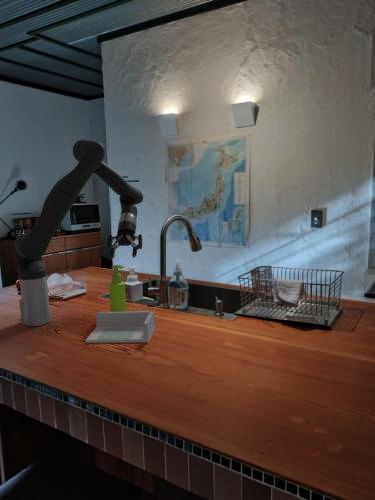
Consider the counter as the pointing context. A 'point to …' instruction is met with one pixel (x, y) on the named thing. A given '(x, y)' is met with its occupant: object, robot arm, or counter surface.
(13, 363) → the counter surface
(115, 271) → the soap dispenser
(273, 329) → the counter surface
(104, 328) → the grey corner tray
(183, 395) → the counter surface
